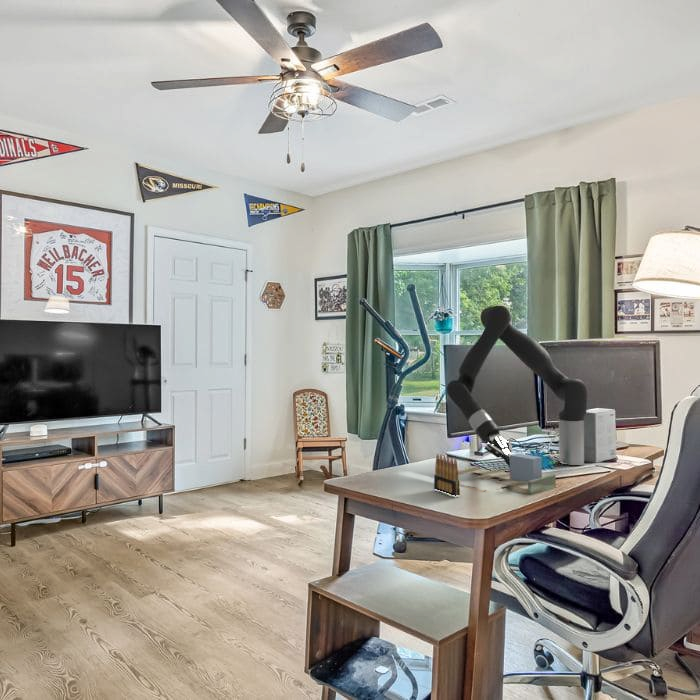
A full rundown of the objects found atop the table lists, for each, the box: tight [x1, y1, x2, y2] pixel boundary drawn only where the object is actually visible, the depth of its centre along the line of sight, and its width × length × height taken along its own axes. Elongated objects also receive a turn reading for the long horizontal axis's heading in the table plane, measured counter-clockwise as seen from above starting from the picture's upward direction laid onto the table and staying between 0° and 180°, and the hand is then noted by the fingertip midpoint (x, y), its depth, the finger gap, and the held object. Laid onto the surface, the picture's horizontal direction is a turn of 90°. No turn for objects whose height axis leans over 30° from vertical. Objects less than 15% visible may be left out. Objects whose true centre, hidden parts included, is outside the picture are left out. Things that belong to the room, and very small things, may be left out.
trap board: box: [458, 465, 557, 496], centre depth 193 cm, size 33×16×4 cm, turn 39°
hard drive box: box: [584, 407, 617, 464], centre depth 226 cm, size 16×8×20 cm, turn 126°
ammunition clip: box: [433, 453, 461, 496], centre depth 177 cm, size 11×2×12 cm, turn 29°
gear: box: [528, 449, 557, 471], centre depth 207 cm, size 11×6×10 cm
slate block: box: [509, 452, 543, 483], centre depth 187 cm, size 9×5×8 cm, turn 39°
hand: (513, 465), depth 191 cm, fingers closed
